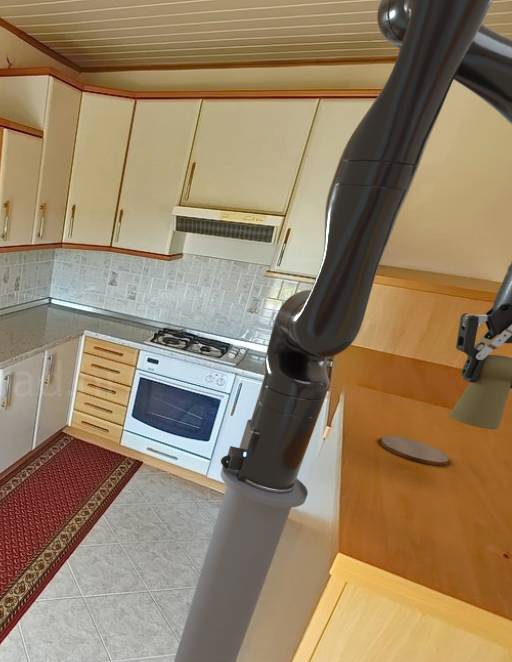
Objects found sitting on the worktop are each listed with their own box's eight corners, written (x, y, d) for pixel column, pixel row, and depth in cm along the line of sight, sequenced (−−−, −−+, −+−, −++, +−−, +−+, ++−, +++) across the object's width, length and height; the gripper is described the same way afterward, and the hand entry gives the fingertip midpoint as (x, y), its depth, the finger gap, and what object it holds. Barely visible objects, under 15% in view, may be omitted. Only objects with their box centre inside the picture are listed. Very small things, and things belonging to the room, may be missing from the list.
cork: (509, 432, 76) (542, 365, 72) (466, 426, 77) (497, 359, 73) (480, 416, 81) (509, 354, 78) (440, 411, 82) (468, 349, 78)
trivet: (392, 457, 97) (394, 453, 97) (372, 435, 107) (373, 431, 107) (458, 470, 94) (460, 466, 94) (431, 446, 104) (433, 443, 104)
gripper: (496, 272, 70) (447, 382, 76) (627, 286, 66) (565, 402, 71) (468, 267, 76) (426, 369, 82) (585, 280, 72) (532, 386, 78)
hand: (490, 384), depth 77 cm, fingers closed on cork, 5 cm apart
